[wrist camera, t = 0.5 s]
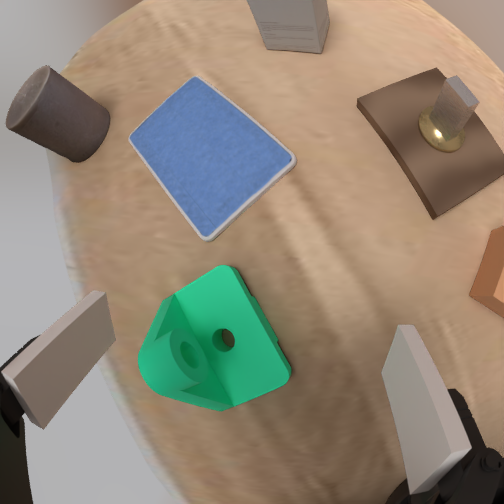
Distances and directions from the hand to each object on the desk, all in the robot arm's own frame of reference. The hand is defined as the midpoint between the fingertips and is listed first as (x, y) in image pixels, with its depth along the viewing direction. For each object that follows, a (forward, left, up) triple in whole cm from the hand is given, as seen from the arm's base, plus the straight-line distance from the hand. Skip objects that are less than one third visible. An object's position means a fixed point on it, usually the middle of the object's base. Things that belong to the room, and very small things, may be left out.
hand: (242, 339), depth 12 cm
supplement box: (+29, -17, -15) cm, 37 cm away
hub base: (+8, -22, -15) cm, 28 cm away
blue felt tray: (+20, +1, -16) cm, 26 cm away
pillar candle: (+35, +16, -15) cm, 42 cm away
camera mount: (0, +6, -15) cm, 17 cm away
